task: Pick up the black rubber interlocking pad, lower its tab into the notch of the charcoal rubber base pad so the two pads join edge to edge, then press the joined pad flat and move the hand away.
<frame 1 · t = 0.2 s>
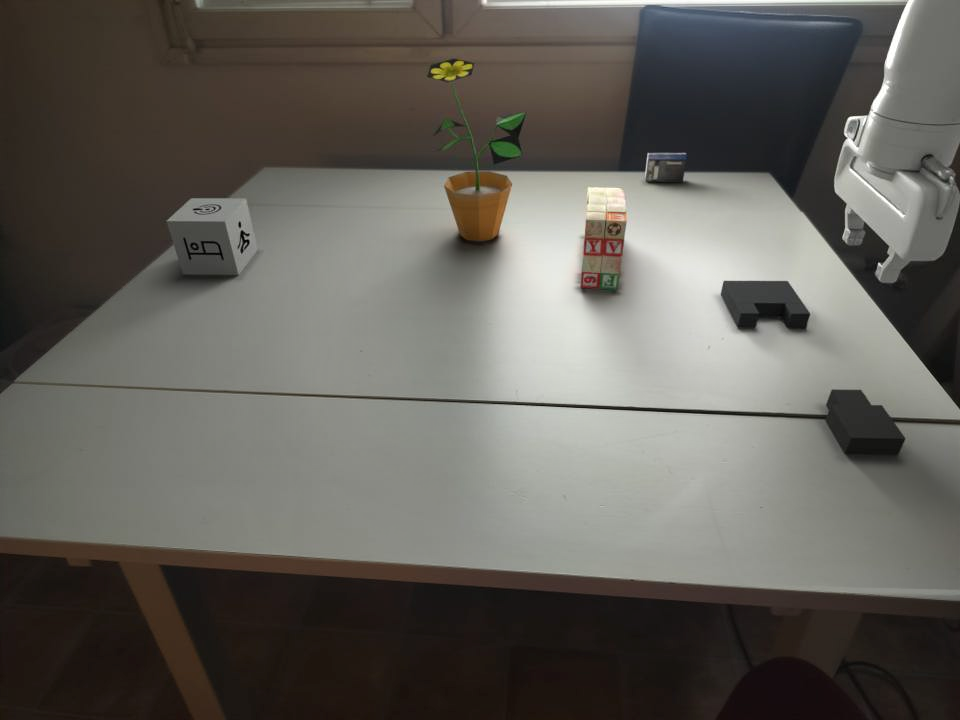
hand: (866, 260, 78), 18 cm above the table, tool pointing down, fingers open, 8 cm apart
pad base: (761, 310, 103), on the table
stack of blocks: (600, 261, 118), on the table
potted plant: (479, 234, 128), on the table
mini dv tape: (663, 181, 149), on the table
pad: (860, 437, 79), on the table
icon cube: (221, 262, 120), on the table
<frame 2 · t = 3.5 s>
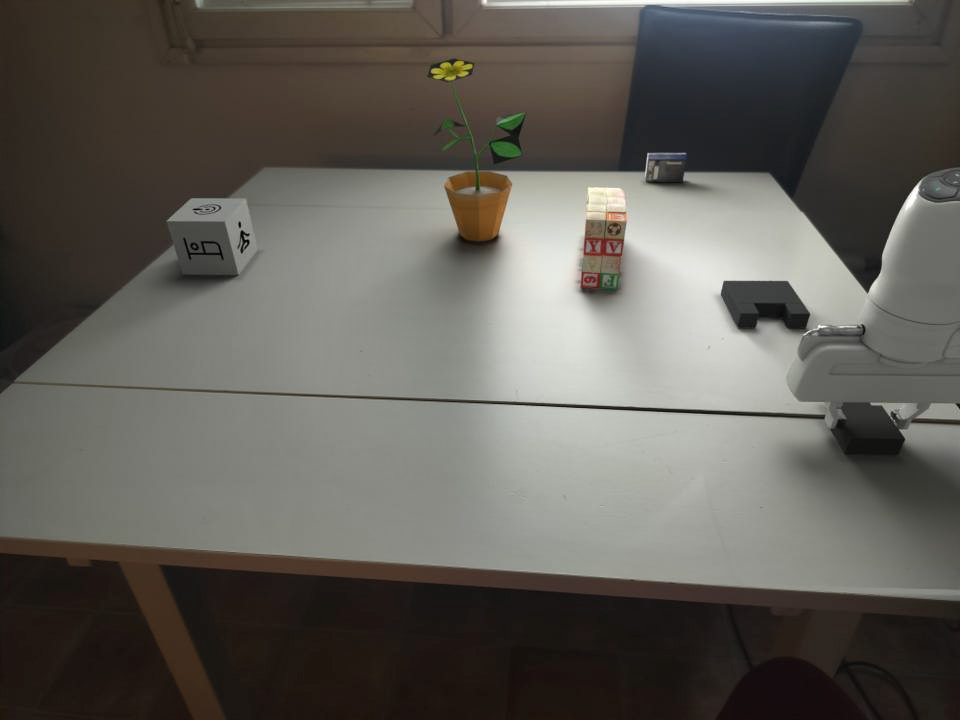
hand: (865, 425, 78), 2 cm above the table, tool pointing down, fingers closed on pad, 6 cm apart
pad: (860, 437, 79), on the table, touching gripper
everything else where it was.
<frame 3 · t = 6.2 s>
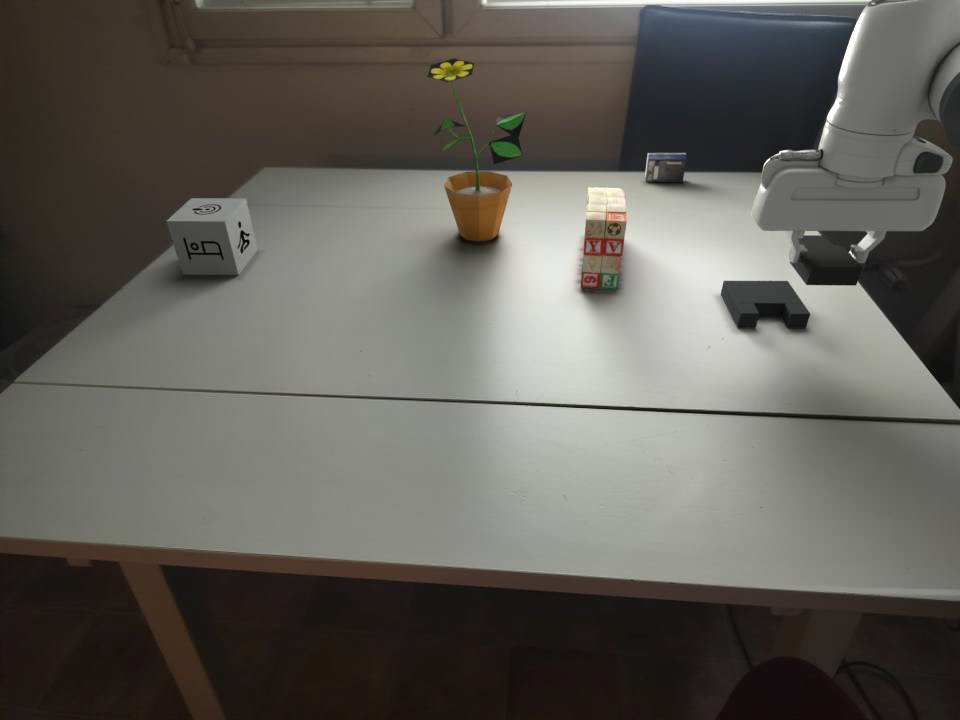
hand: (826, 260, 83), 15 cm above the table, tool pointing down, fingers closed on pad, 6 cm apart
pad: (821, 273, 84), point 14 cm above the table, touching gripper
everything else where it was.
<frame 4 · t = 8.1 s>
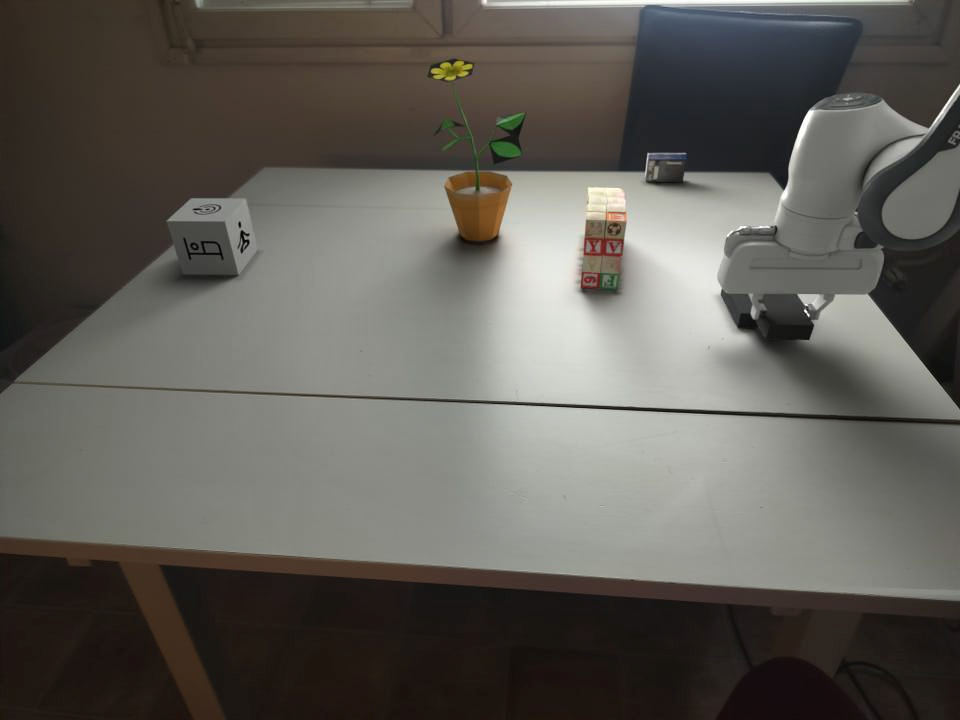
hand: (783, 317, 94), 4 cm above the table, tool pointing down, fingers closed on pad, 6 cm apart
pad: (780, 328, 95), point 2 cm above the table, touching gripper
everything else where it was.
when the fingers open (2 cm above the table, at t = 9.2 s): pad stays where it is, on the table.
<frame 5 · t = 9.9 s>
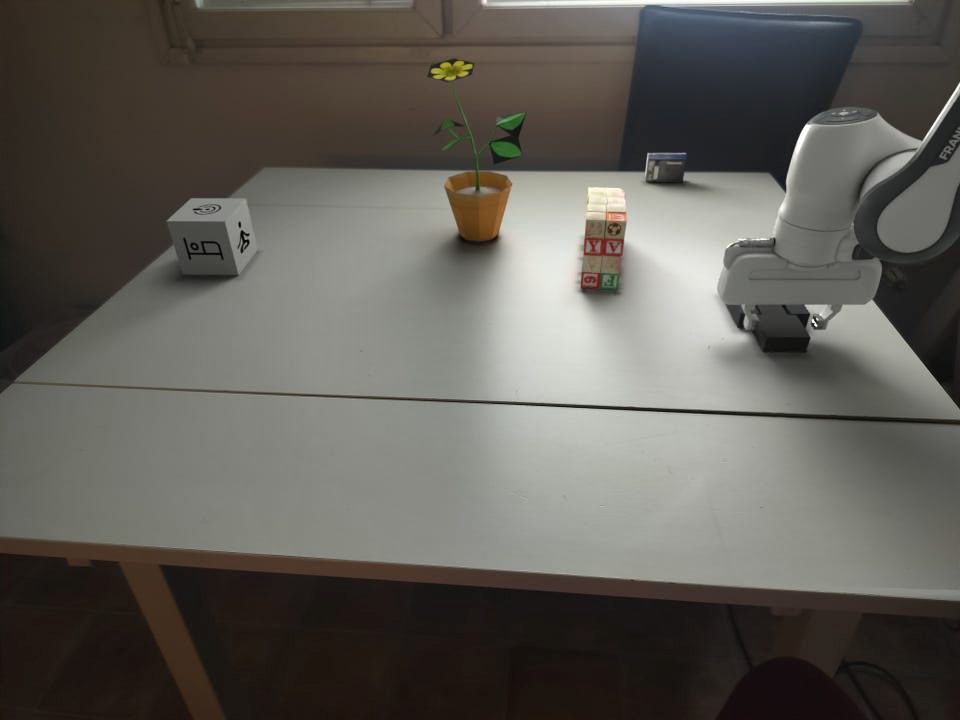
hand: (783, 327, 95), 2 cm above the table, tool pointing down, fingers open, 8 cm apart
pad: (777, 340, 96), on the table
everything else where it was.
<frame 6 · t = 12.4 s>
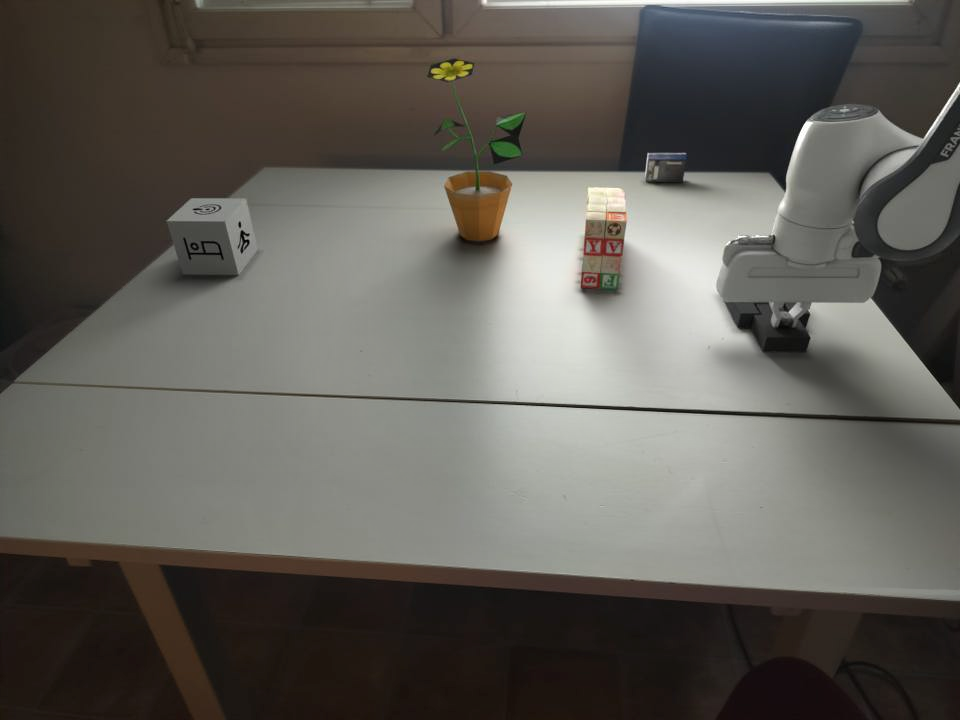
hand: (782, 325, 95), 3 cm above the table, tool pointing down, fingers closed, pressing on pad
pad: (777, 340, 96), on the table, touching gripper
everything else where it was.
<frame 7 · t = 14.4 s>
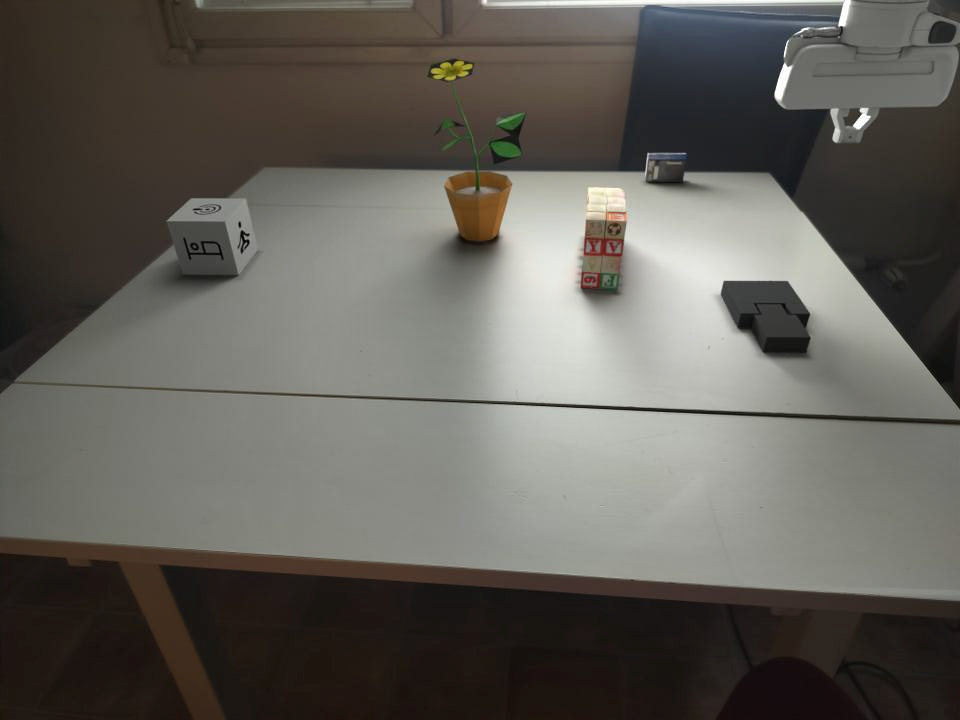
hand: (845, 141, 88), 26 cm above the table, tool pointing down, fingers closed
pad: (777, 340, 96), on the table
everything else where it was.
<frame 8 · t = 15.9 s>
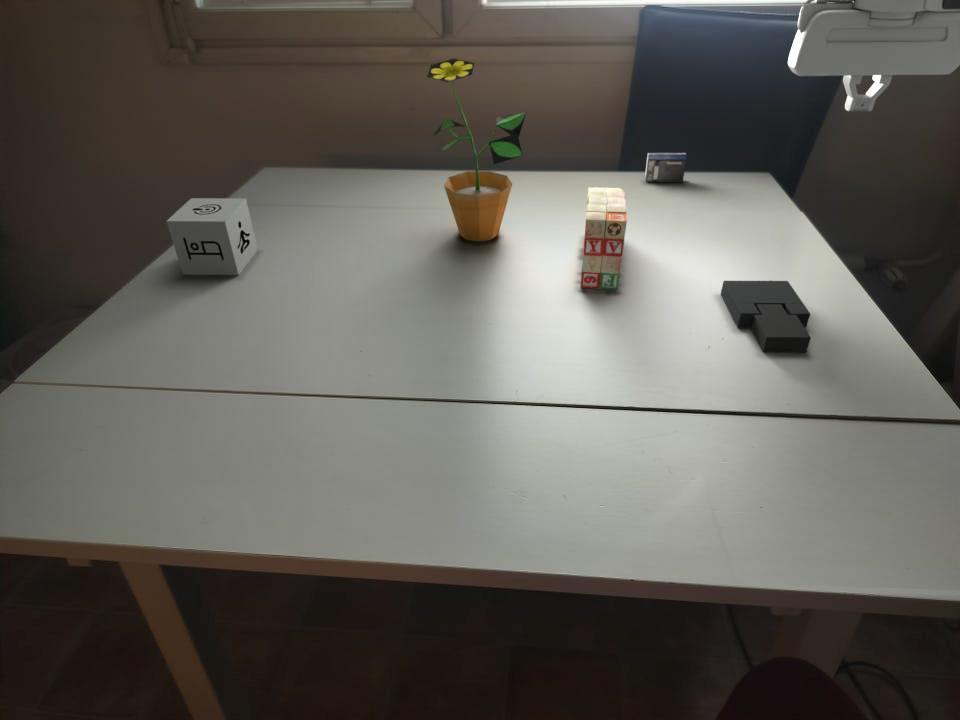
hand: (857, 110, 88), 29 cm above the table, tool pointing down, fingers closed
nothing on the table moved.
at the end: pad 0.1 cm from the target spot on the table beside the pad base, on the table; pad tilted 0°; the gripper is holding nothing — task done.
